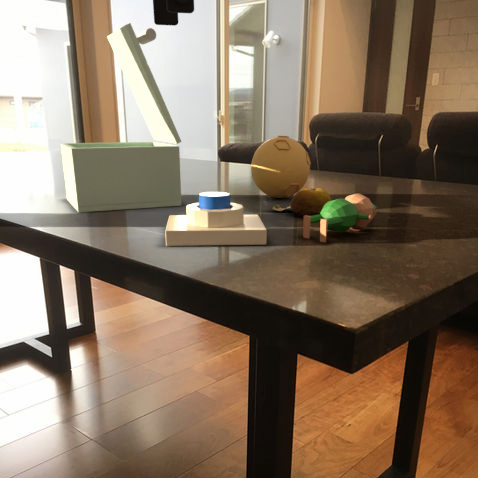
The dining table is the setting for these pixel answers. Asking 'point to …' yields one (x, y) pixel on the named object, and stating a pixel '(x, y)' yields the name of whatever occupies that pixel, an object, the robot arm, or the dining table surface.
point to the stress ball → (280, 167)
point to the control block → (215, 227)
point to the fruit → (307, 202)
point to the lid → (143, 81)
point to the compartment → (121, 175)
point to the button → (214, 200)
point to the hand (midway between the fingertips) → (173, 19)
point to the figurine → (342, 215)
